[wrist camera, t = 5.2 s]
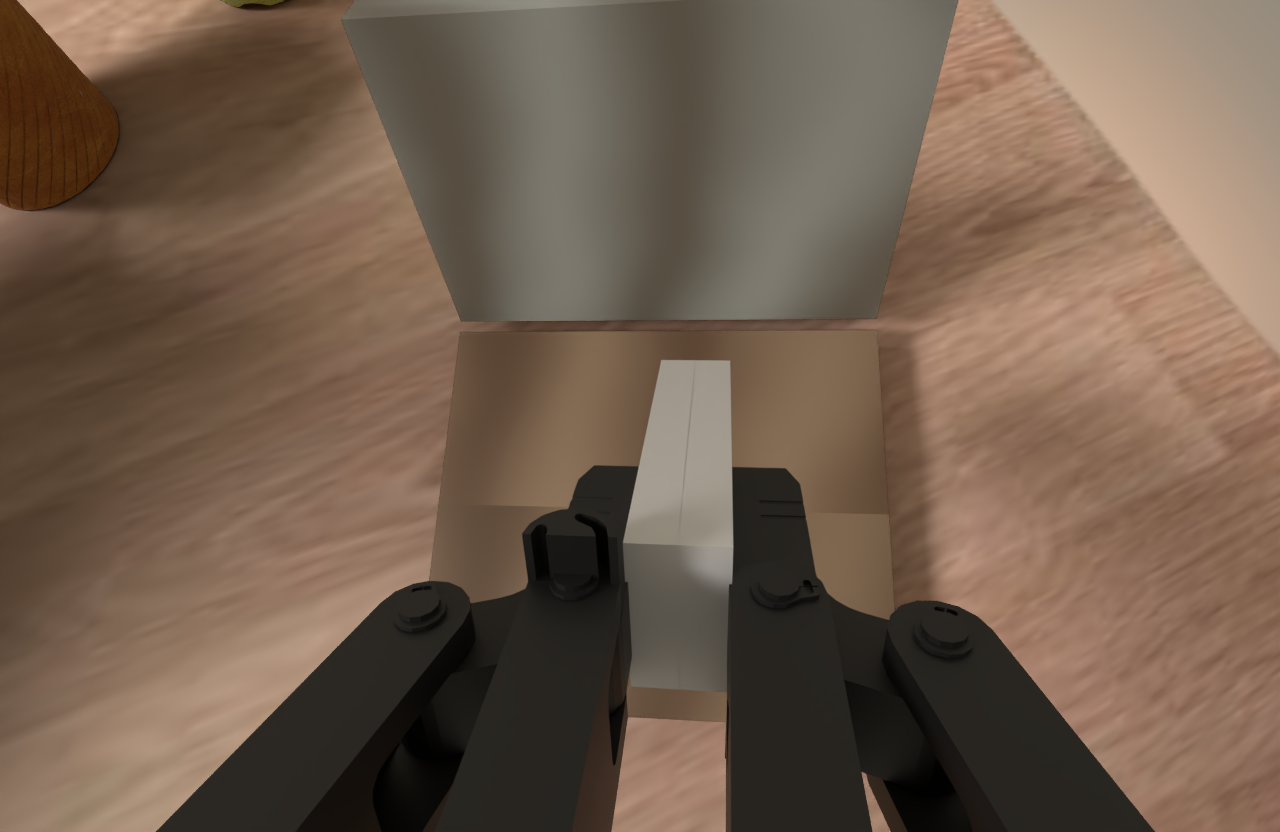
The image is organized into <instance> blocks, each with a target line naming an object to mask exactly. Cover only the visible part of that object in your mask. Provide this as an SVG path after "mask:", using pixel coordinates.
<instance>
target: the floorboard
mask: <svg viewBox="0 0 1280 832" xmlns="http://www.w3.org/2000/svg"><path fill="white" fill-rule="evenodd" d="M661 360H724V361H730V377H731V438H732V467H759V468H786V469H787V470H788V471H789V472H790V473H791V474H792V476H793V477H794V478H795V479H796V480H797V481H798V482H799V483H800V486H801V492H802V497H803V505H804V509H805V514H806V520H807V526H808V531H809V537H810V543H811V549H812V554H813V560H814V566H815V571H816V575H817V578H818V579H820V580H821V581H822V583H823V585H824V587H825V589H826V591H827V593H828V594H829V595H830V596H832V597H833V598H834V599H835V600H836V601H838V602H840V603H842V604H844V605H845V606H847V607H849V608H852V609H854V610H857V611H860V612H863V613H866V614H869V615H873V616H876V617H880V618H884V619H887V620H889V619H890V615H891V614H892V613H893V612H894V611H895V606H894V590H893V574H892V558H891V543H890V527H889V511H888V495H887V479H886V464H885V448H884V432H883V416H882V400H881V385H880V369H879V353H878V337H877V330H785V331H581V332H460V336H459V344H458V352H457V360H456V368H455V376H454V384H453V392H452V400H451V408H450V416H449V424H448V433H447V441H446V449H445V457H444V465H443V473H442V481H441V489H440V497H439V505H438V513H437V521H436V529H435V537H434V545H433V553H432V561H431V569H430V577H429V581H442V582H450V583H452V584H454V585H457V586H459V587H461V588H462V589H463V590H464V591H465V592H466V594H467V595H468V596H469V598H470V603H475V602H480V601H486V600H491V599H496V598H501V597H505V596H508V595H512V594H515V593H517V592H519V591H521V590H523V589H525V588H526V586H527V583H528V576H527V569H526V561H525V554H524V547H523V539H522V533H523V532H524V530H525V529H526V528H527V526H528V525H529V524H530V523H531V522H533V521H534V520H536V519H537V518H539V517H541V516H542V515H544V514H547V513H551V512H554V511H557V510H561V509H568V508H569V505H570V502H571V500H572V496H573V493H574V490H575V487H576V485H577V482H578V479H579V478H581V477H582V476H583V475H584V474H585V473H586V472H587V471H588V470H589V469H591V468H592V467H593V466H594V465H605V466H639V464H640V459H641V454H642V450H643V445H644V440H645V435H646V431H647V426H648V421H649V416H650V412H651V407H652V402H653V397H654V393H655V388H656V383H657V378H658V374H659V369H660V364H661ZM626 694H627V710H628V717H639V718H657V719H675V720H693V721H711V722H726V711H727V692H712V691H696V690H679V689H663V688H646V687H631V680H630V672H629V679H628V685H627V692H626Z"/></svg>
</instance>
